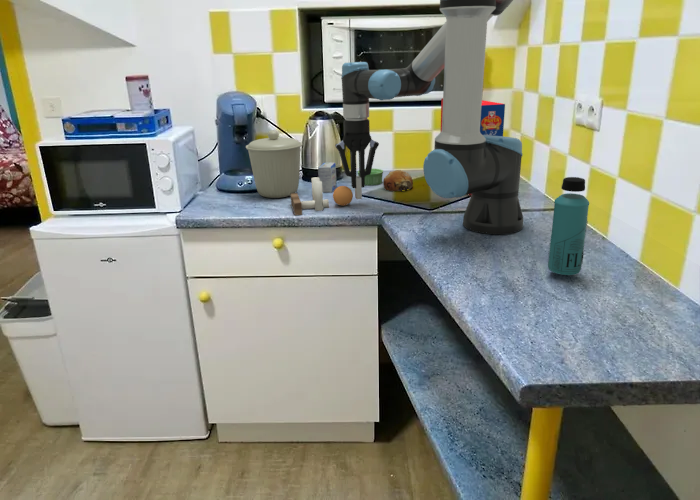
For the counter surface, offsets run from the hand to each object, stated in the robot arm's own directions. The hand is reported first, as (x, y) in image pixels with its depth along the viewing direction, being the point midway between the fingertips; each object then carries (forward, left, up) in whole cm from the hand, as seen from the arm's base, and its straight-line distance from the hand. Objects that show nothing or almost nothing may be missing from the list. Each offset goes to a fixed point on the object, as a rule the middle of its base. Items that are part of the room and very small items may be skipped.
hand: (358, 198), depth 161 cm
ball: (0, +5, +1) cm, 5 cm away
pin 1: (+2, +12, -2) cm, 13 cm away
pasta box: (+9, -39, -2) cm, 40 cm away
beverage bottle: (-65, -28, -2) cm, 71 cm away
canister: (+20, +23, -2) cm, 31 cm away
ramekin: (+26, -10, -2) cm, 28 cm away
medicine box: (+21, +6, -2) cm, 22 cm away
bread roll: (+15, -17, -2) cm, 23 cm away
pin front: (0, +9, -1) cm, 9 cm away
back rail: (0, +19, -2) cm, 19 cm away
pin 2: (-2, +12, -2) cm, 13 cm away
